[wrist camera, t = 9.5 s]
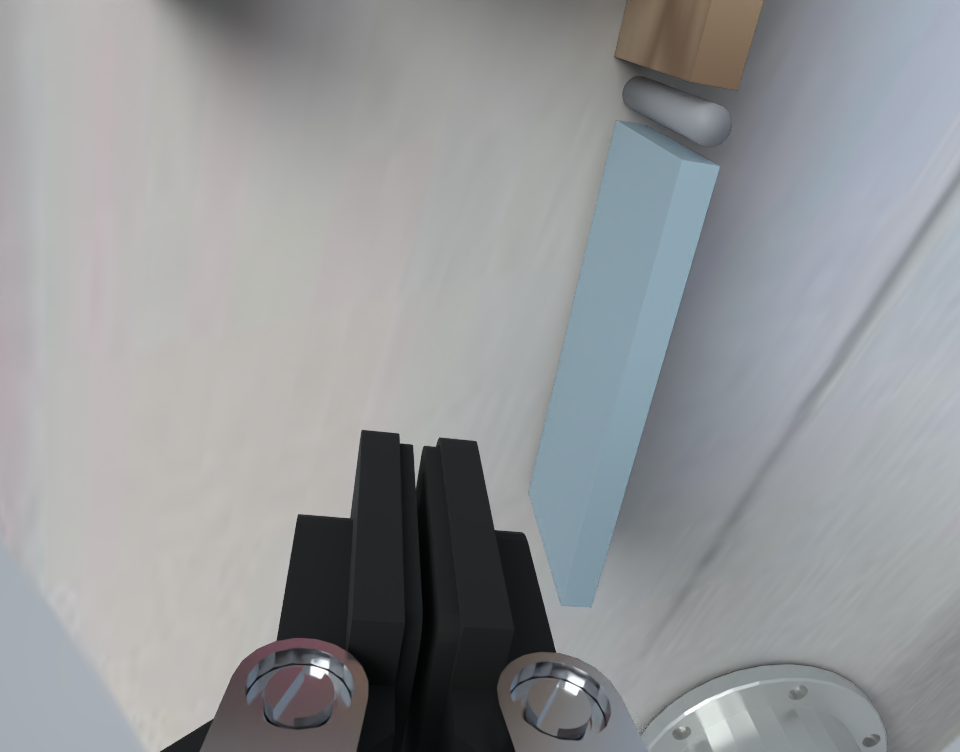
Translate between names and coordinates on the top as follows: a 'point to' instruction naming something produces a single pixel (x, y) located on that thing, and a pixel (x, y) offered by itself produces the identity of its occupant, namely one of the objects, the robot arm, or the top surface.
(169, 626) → the top surface
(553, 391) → the blue grey rectangular panel
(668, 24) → the wooden box
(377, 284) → the top surface
